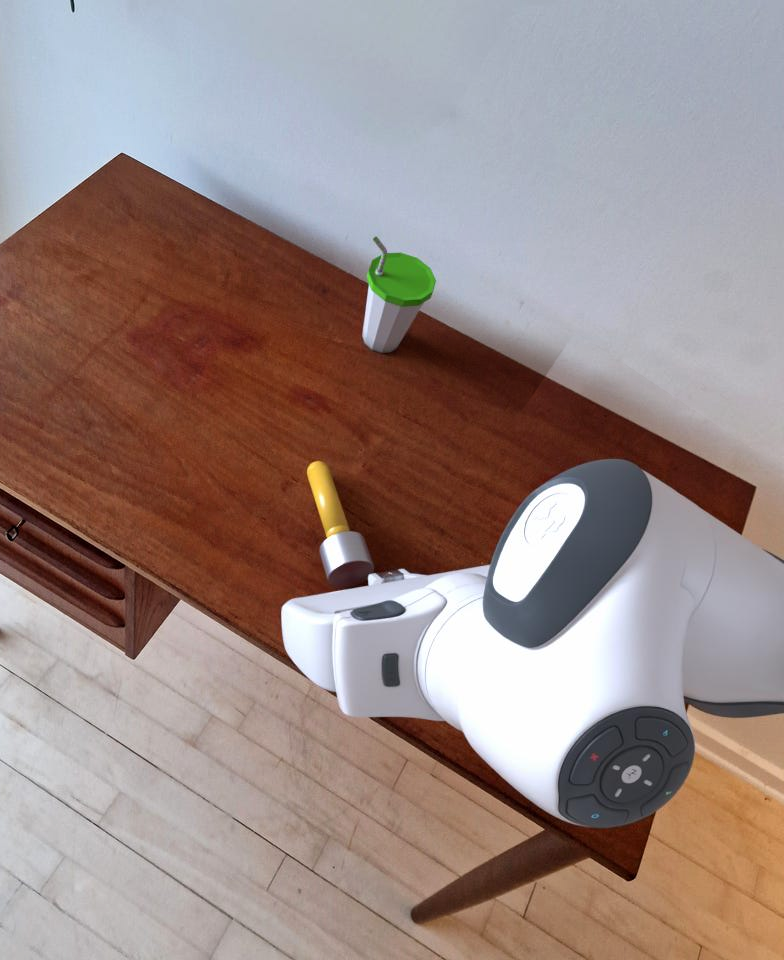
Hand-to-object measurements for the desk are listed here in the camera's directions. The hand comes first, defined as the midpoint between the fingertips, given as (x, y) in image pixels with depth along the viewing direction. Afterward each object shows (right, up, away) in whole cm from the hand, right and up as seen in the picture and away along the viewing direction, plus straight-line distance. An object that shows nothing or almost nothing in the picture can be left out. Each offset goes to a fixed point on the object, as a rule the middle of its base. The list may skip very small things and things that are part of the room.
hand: (385, 580), depth 67 cm
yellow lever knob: (-2, -1, +14) cm, 14 cm away
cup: (+3, +25, +36) cm, 44 cm away
